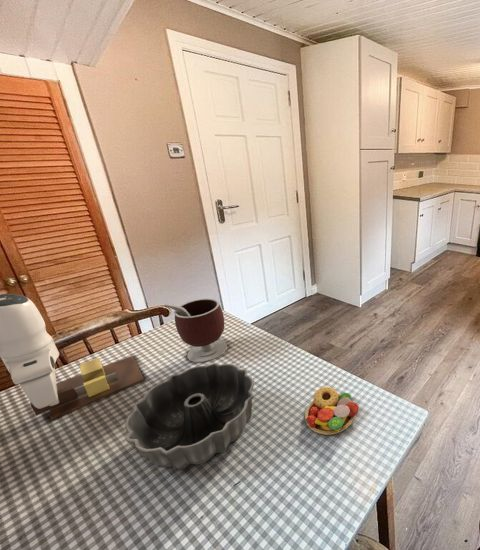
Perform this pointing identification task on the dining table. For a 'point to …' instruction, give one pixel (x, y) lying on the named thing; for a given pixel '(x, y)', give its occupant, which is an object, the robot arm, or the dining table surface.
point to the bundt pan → (191, 415)
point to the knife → (70, 394)
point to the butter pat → (96, 386)
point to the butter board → (122, 383)
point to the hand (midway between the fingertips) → (54, 400)
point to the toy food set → (330, 411)
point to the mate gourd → (201, 328)
